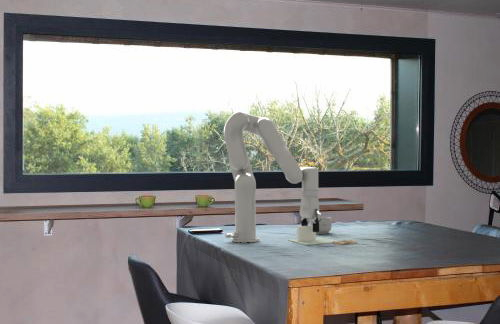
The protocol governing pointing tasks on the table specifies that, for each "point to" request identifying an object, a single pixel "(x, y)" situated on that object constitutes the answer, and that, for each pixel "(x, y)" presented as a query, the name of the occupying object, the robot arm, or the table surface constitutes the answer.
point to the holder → (344, 242)
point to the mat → (314, 241)
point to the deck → (305, 233)
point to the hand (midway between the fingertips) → (310, 230)
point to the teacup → (323, 225)
